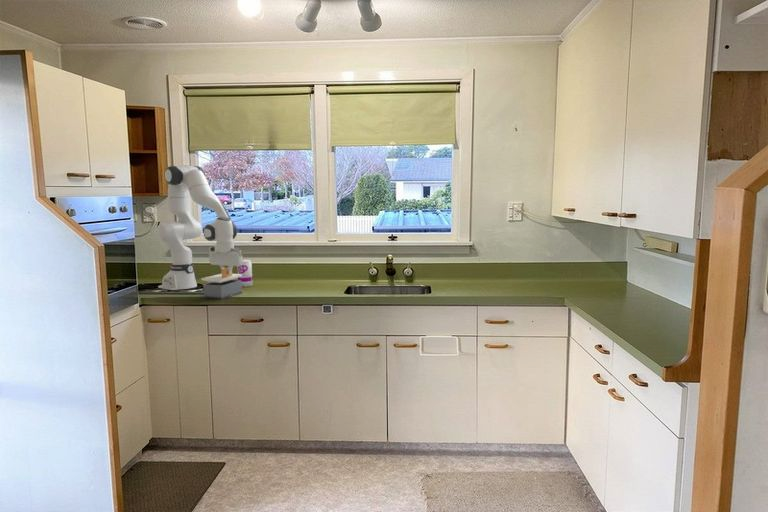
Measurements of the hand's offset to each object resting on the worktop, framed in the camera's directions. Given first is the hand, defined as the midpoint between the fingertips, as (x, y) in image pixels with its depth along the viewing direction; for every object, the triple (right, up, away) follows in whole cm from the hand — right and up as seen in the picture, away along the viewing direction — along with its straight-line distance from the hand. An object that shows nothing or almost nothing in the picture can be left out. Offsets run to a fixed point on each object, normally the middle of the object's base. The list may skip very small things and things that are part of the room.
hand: (226, 273), depth 266 cm
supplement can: (+2, -8, +29) cm, 30 cm away
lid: (-3, -3, +2) cm, 4 cm away
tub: (-3, -12, +3) cm, 12 cm away
